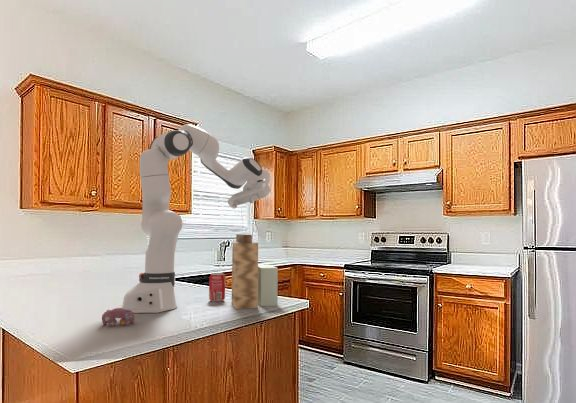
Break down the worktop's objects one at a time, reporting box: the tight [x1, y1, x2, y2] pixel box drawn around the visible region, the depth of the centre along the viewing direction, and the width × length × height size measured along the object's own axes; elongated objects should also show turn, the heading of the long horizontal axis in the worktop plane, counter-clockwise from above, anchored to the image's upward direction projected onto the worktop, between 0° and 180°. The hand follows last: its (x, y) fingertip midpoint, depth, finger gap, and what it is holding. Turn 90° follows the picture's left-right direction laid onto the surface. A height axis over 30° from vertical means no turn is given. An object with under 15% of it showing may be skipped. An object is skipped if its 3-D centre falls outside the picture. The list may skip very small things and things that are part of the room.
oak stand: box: [231, 241, 259, 310], centre depth 165 cm, size 9×12×26 cm
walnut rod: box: [235, 233, 253, 243], centre depth 170 cm, size 3×22×3 cm, turn 15°
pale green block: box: [258, 264, 279, 307], centre depth 172 cm, size 7×16×16 cm, turn 15°
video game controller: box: [101, 307, 136, 327], centre depth 128 cm, size 10×5×7 cm, turn 107°
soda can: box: [208, 272, 226, 303], centre depth 175 cm, size 7×7×12 cm
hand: (242, 204), depth 173 cm, fingers open, 8 cm apart
